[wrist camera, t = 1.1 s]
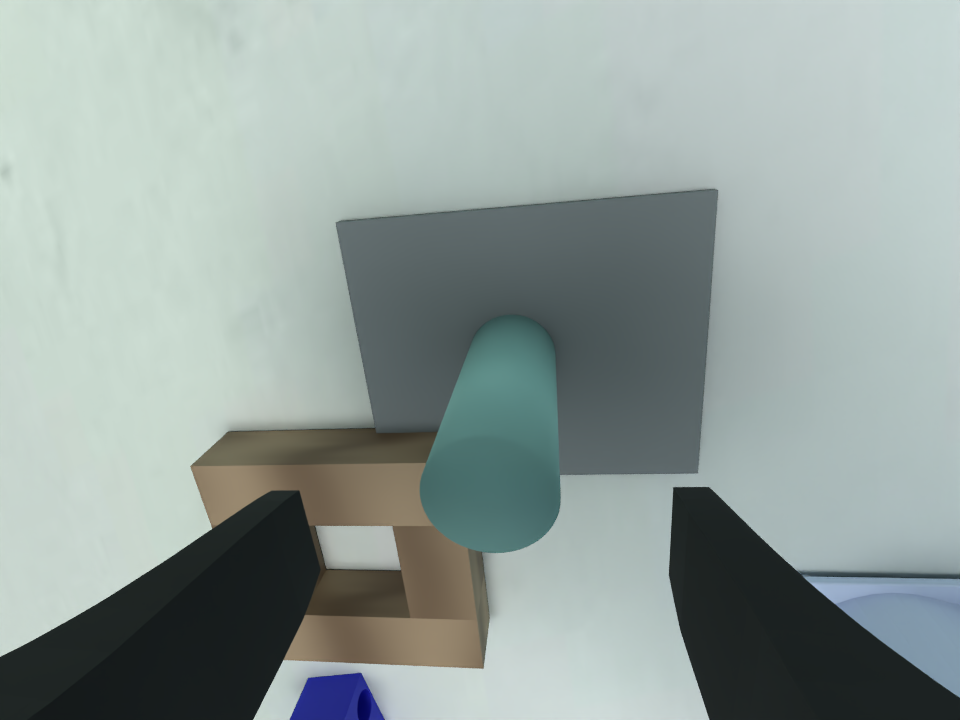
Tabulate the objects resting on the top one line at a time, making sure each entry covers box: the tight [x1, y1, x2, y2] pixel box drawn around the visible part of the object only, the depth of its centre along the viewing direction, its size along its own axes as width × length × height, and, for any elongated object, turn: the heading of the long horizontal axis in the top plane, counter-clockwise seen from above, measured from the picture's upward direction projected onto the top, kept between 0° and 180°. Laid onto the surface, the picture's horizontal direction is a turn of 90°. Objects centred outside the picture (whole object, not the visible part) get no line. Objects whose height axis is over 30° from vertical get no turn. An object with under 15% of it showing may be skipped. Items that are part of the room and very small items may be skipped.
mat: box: [336, 189, 718, 475], centre depth 19 cm, size 12×10×1 cm
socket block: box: [190, 428, 490, 669], centre depth 22 cm, size 10×10×2 cm
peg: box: [419, 315, 561, 553], centre depth 15 cm, size 3×3×8 cm
